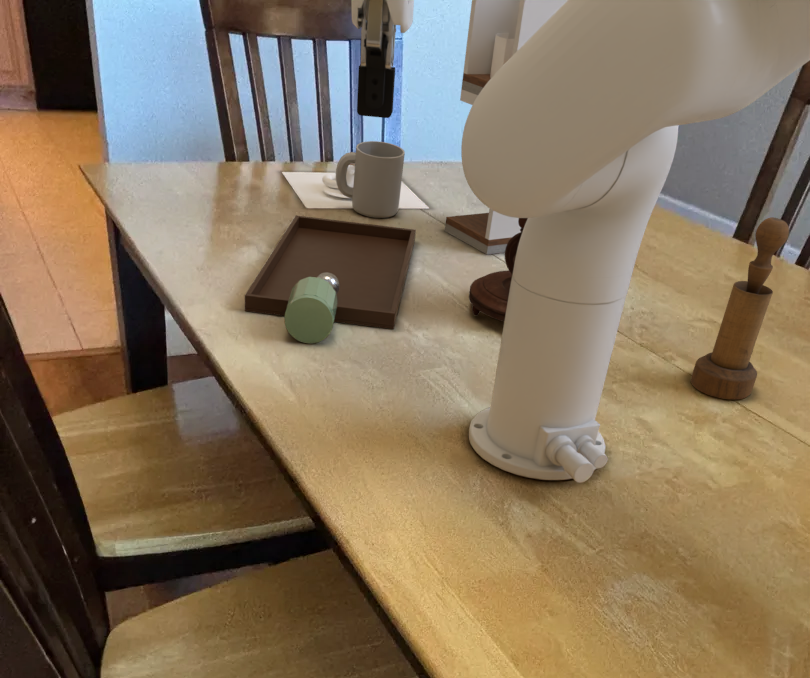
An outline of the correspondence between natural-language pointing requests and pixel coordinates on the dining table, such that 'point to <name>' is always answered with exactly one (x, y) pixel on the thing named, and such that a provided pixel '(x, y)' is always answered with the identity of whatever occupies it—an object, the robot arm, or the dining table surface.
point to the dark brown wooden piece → (496, 284)
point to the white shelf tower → (485, 54)
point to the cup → (373, 178)
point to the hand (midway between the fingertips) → (374, 114)
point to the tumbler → (311, 310)
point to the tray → (338, 268)
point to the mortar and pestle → (741, 323)
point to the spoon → (331, 280)
